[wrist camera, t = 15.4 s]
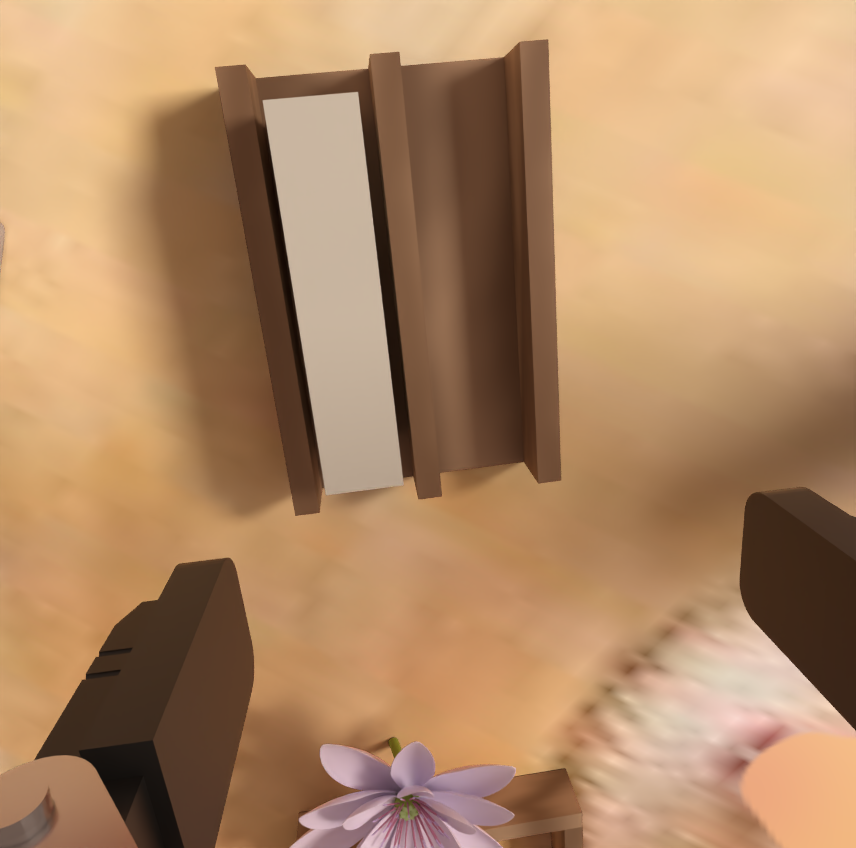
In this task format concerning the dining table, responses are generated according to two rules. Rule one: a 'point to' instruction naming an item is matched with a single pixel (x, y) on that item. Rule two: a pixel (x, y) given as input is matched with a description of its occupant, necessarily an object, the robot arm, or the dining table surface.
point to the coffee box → (1, 241)
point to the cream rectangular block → (336, 286)
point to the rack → (427, 258)
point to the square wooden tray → (532, 810)
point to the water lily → (405, 802)
